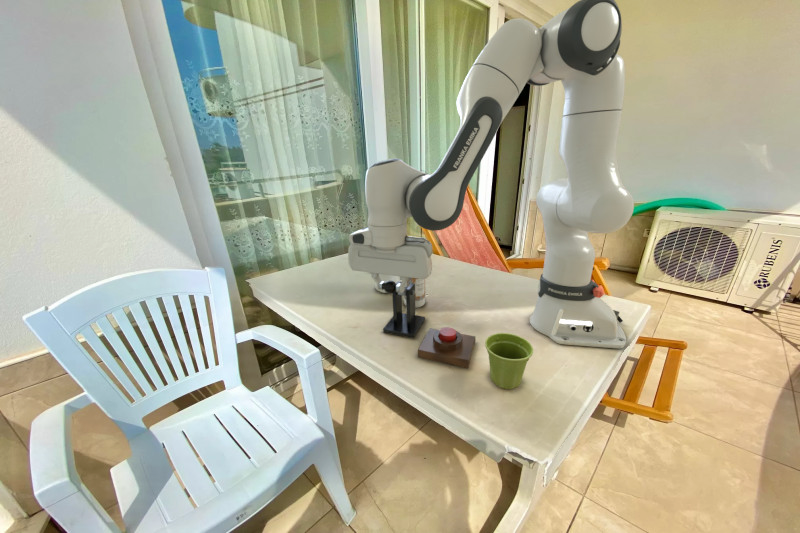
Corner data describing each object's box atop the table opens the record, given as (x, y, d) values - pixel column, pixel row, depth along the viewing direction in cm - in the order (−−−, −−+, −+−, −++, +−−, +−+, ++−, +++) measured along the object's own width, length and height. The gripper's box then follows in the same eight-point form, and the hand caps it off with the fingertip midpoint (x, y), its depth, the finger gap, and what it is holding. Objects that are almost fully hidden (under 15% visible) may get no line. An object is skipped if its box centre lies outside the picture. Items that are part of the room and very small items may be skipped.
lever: (392, 293, 71) (395, 280, 71) (380, 292, 72) (382, 278, 73) (410, 298, 83) (411, 286, 83) (399, 296, 84) (401, 285, 85)
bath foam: (412, 310, 95) (410, 249, 88) (399, 302, 100) (397, 244, 93) (429, 304, 98) (429, 245, 91) (416, 296, 104) (415, 240, 97)
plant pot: (479, 389, 63) (482, 354, 60) (484, 361, 71) (487, 329, 68) (528, 400, 59) (534, 364, 56) (528, 370, 68) (532, 337, 64)
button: (457, 334, 75) (457, 328, 74) (454, 343, 72) (454, 337, 71) (441, 331, 76) (441, 325, 76) (437, 340, 73) (437, 334, 72)
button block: (475, 343, 77) (475, 330, 76) (468, 368, 69) (468, 353, 67) (429, 335, 82) (429, 322, 80) (418, 357, 73) (417, 343, 72)
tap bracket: (413, 338, 80) (413, 295, 76) (383, 332, 84) (380, 290, 79) (425, 320, 89) (425, 280, 85) (396, 315, 92) (395, 276, 88)
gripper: (436, 234, 68) (435, 290, 73) (355, 229, 75) (360, 280, 80) (427, 242, 62) (427, 302, 67) (342, 235, 70) (347, 290, 74)
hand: (390, 290), depth 74 cm, fingers open, 4 cm apart
